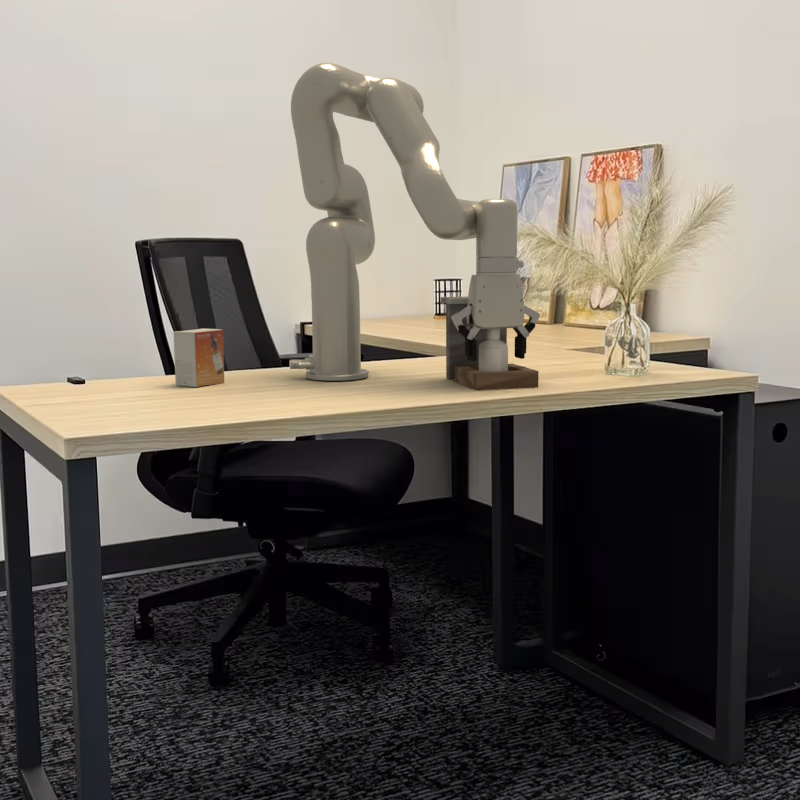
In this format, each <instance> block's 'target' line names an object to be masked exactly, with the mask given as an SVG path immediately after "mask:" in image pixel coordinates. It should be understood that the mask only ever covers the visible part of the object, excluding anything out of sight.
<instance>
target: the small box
mask: <svg viewBox="0 0 800 800" xmlns="http://www.w3.org/2000/svg"><path fill="white" fill-rule="evenodd" d="M173 349H174V350H173V351H174V375H175V386H177V387H178V386H179V387H191V388H198V387H204V386H210V385H212V386H213V385H218V384H219V385H220V384H224V383H225V359H224V357H225V356H224V355H225V354H224V330H223V329H219V328H202V327H201V328H197V329H188V330H180V331H179V330H178V331H177V330H176V331H173Z"/></svg>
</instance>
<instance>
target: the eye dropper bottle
mask: <svg viewBox="0 0 800 800" xmlns="http://www.w3.org/2000/svg"><path fill="white" fill-rule="evenodd" d="M487 339H488V340H487V341H484V342H482V343H480V345H479V371H482V372H497V371H508V364H509V347H508V344H507V345H506V344H505V343H504V342H502V341H500V340H499V339H500V328H497V329H487Z"/></svg>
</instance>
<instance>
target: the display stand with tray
mask: <svg viewBox="0 0 800 800" xmlns="http://www.w3.org/2000/svg"><path fill="white" fill-rule="evenodd" d="M440 303H442V304H445V351H446V353H445V359H446V360H445V362H446V364H445V365H446V367H445V373H446V374H445V375H446V376H445V379H447V380H451V381H452V380H454V383H457V384H460V385H462V386H465V387H468V388H470V389H472V388H473V390H475V391H490V390H491V391H493V390H494V389H495V390H509V389H511V390H512V389H525V388H527V389H529V388H539V371H540V370H536V369H533V368H529V367H527V366H523V365H519V364H516V363H508V371H497V372H482V371H479V345H480V343H482V342H484V341H487V340H488V339H487V329H480V330H479V331H478V333H477V334H476V335H475V337H474V339H475V340H476V341H477V360H476V361H471V360H468V359H467V356H466V355H465V338H464V337H463V336H462V335H461V334H460V333H459V332H458V331H457V329H456V326H455V325H454V323H453V321H452V318H451V317H452V315H454V314H456V313H457V312H459V311H461V310H463V309H464V308H466V307H467V303H468V295H467V296H441V297H440ZM462 323H463V325H464V326H465V327H466V328H468V327H469V325H468V324H467V316H466V317H464V318H463V319H462ZM507 334H508V328H500V339H499V340H500V341H502V342H504V343H505V344H506V345H507V346H508V344H507V342H508V340H507V339H508V335H507Z"/></svg>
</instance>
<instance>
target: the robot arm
mask: <svg viewBox="0 0 800 800" xmlns="http://www.w3.org/2000/svg"><path fill="white" fill-rule="evenodd" d="M424 108H425V107H424V100H423V96H422V94H421V93H420V92H419V91H418V90H417V88H415V87H414V86H413V85H411V84H409V83H407V82H406V81H405V82H404V81H402V80H400V79H398V78H393V77H384V78H378V77H374V76H370V75H367V74H363V73H360V72H357V71H354V70H352V69H349V68H347V67H345V66H342V65H339V64H338V63H333V62H332V63H331V62H322V63H321V62H320V63H318V64H315V65H313V66H311V67H310V68H308V69H306V70H305V71H304V72H303V73H302V74H301V76H300V77H299V78H298V80H297V81H296V84H295V86H294V88H293V91H292V93H291V99H290V114H291V115H290V116H291V122H292V127H293V131H294V132H293V133H294V137H295V142H296V143H295V144H296V150H297V156H298V162H299V170H300V175H301V181H302V190H303V194H304V198H305V200H306V201H307V203H308V204H309V205H310V206H311V207H312V208H314V209H316V210H319V211H326V212H327V217H324V218H321V219H319V220H317V221H316V222H315V223H314V224H312V225H311V227H310V228H309V230H308V232H307V236H306V238H305V239H306V240H305V247H306V248H305V252H306V255H307V256H306V257H307V262H308V267H309V274H310V275H309V277H310V293H311V295H310V297H311V323H312V324H311V326H312V328H311V329H312V330H311V332H312V335H311V336H312V354H311V353H310V354H308V355H309V357H305V358H304V359H298V358H297V359H289V369H290V370H306V371H305V378H306V379H308V380H312V381H327V382H328V381H329V382H330V381H331V382H337V381H338V382H339V381H341V382H342V381H344V382H345V381H355V380H357V381H358V380H362V379H366V378H368V377H369V370H367V369H364V368H362V365H361V364H362V361H361V359H362V358H361V354H362V353H361V308H360V307H361V306H360V304H361V301H360V300H361V298H360V282H359V275H358V271H357V266H356V265H360V264H363V263H364V262H365V261H367V260H368V259H369V258H370V257H371V256H372V254H373V253H374V250H375V243H376V235H375V234H376V233H375V227H374V222H373V215H372V208H371V201H370V196H369V190H368V186H367V183H366V181H365V178H364V177H363V175H362V173H361V172H360V171H359V170H357V169H356V168H355V167H353V166H351V165H349V164H346V163H345V161H344V158H343V157H344V156H343V152H342V151H343V150H342V146H341V138H340V134H339V131H338V128H337V126H336V124H335V121H334V120H335V119H334V113H337V114H340V115H344V116H346V117H351V118H356V119H360V120H363V121H367V122H370V123H374V124H375V126H376V127H377V129H378V131H379V132H380V135H381V136H382V138H383V140H384V141H385V143H386V145H387V147H388V148H389V149H390V151H391V154H392V156H393V157H394V158H395V160H396V162H397V164H398V166H399V167H400V172H401V176H402V179H403V182H404V185H405V189H406V191H407V193H408V196H409V198H410V200H411V202H412V205H413V206H414V207H415V209H416V211H417V213H418V215H419V216H420V217H421V220H422V221H423V223H424V224H425V226H426V227H427V229H428V230H429V231H430V233H432V234H433V235H434V236H436V237H437V238H439V239H442V240H447V241H448V240H452V241H465V240H471V239H475V242H476V244H475V257H476V258H475V274H471V277H470V281H469V285H468V286H469V287H468V293H467V294H468V295H467V296H468V303H467V307H466V308H464V309H463V310H461V311H459V312H457V313H456V314H454V315H452V317H451V318H452V321H453V323H454V325H455V326H456V329H457V331H458V332H459V333H460V334H461V335H462V336H463V337H464V338H465V355H466V356H467V359H468V360H471V361H476V360H477V341H476V340H475V339H474V337H475V335H476V334H477V333H478V331H479V330H480V329H497V328H507V329H513V331H514V332H515V333H516V336H515V337H514V357H515V358H517V359H521V360H525V354H527V338H528V337H529V336H530V333H532V332H533V330H534V329H535V328H536V325H537V323H538V321H539V319H540V317H541V313H539V312H538V311H536V310H534V309H532V308H531V307H528V306H527V305H525V301H524V299H525V298H524V292H523V291H524V290H523V289H524V288H523V285H522V280H521V279H522V278H521V274H518V271H519V269H520V268H521V269H523V267H524V264H525V263H524V260H520V259H519V257H518V206H517V203H516V201H515V200H512V199H509V198H490V199H489V198H488V199H483V200H480V201H478V200H477V201H474V200H468V199H460V198H457V197H456V195H455V193H454V191H453V190H452V188H451V186H450V185H449V182H448V181H447V178H446V177H445V174H444V173H443V171H442V169H441V165H440V162H439V161H440V160H439V159H440V158H439V155H440V147H441V146H440V142H439V140H438V139H437V136H436V135H435V134H434V132H433V130H432V128H431V127H430V125H429V123H428V121H427V120H426V118H425V116H424V115H423V114H424V110H425V109H424ZM525 315H526V316H528V321H527V322H526V323H525V325H524V322H525ZM466 316H467V324H468V325H469V327H468V328H466V327H465V326H464V325H463V323H462V319H463V318H464V317H466Z"/></svg>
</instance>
